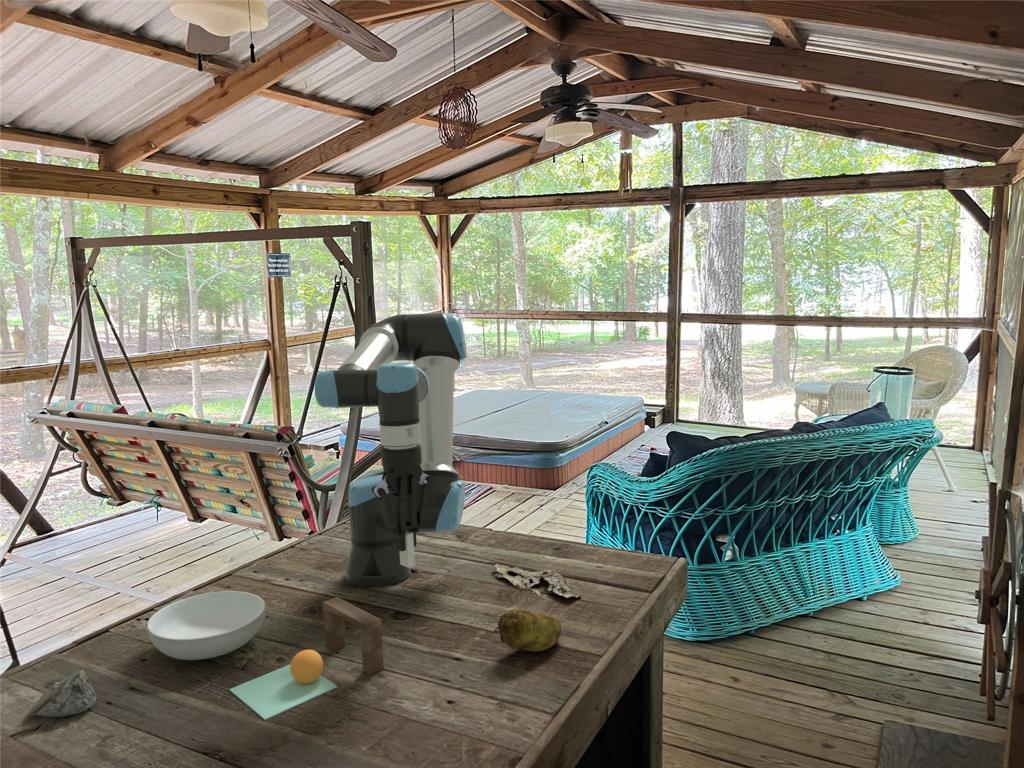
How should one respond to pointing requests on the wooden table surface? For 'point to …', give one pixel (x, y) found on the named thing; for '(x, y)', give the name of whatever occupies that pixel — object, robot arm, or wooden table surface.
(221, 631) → the serving bowl
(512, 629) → the potato
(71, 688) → the grey rock
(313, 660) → the ball
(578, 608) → the wooden table surface
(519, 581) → the driftwood
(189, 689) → the wooden table surface
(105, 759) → the wooden table surface
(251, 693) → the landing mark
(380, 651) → the bridge
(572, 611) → the wooden table surface
